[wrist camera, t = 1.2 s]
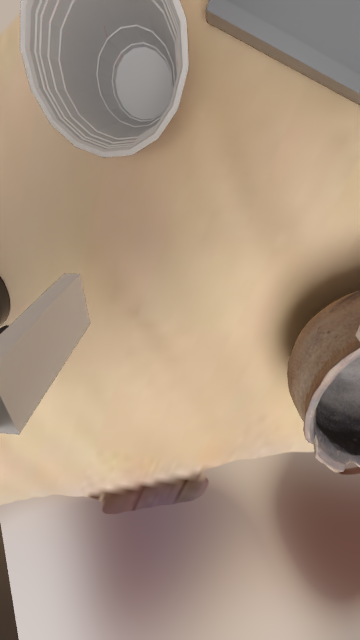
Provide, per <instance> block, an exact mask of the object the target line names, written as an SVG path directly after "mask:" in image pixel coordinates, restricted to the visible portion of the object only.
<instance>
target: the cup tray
mask: <svg viewBox="0 0 360 640" xmlns="http://www.w3.org/2000/svg"><path fill="white" fill-rule="evenodd" d="M206 13H207V22H208V23H210V24H211V25H213V26H215V27H217V28H219V29H221V30H222V31H224V32H226V33H228V34H230V35H232V36H233V37H235V38H237V39H239V40H241V41H243V42H245V43H246V44H248V45H250V46H252V47H254V48H256V49H257V50H259V51H261V52H263V53H265V54H267V55H269V56H270V57H272V58H274V59H276V60H278V61H280V62H281V63H283V64H285V65H287V66H289V67H291V68H292V69H294V70H296V71H298V72H300V73H302V74H304V75H305V76H307V77H309V78H311V79H313V80H315V81H316V82H318V83H320V84H322V85H324V86H326V87H328V88H329V89H331V90H333V91H335V92H337V93H339V94H340V95H342V96H344V97H346V98H348V99H350V100H351V101H353V102H355V103H357V104H359V105H360V0H209V3H208V6H207V9H206Z"/></svg>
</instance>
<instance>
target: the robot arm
mask: <svg viewBox="0 0 360 640" xmlns="http://www.w3.org/2000/svg"><path fill="white" fill-rule="evenodd" d="M9 308H10V303H9V296H8V293H7V290H6V287H5V285H4V283H3V281H2V280H1V278H0V325H2V324H3V323H4V321H5V320H6V318H7V316H8V314H9ZM89 325H90V319H89V314H88V310H87V305H86V300H85V295H84V290H83V286H82V281H81V276H80V274H63V275H62V276H61V277H60V278H59V279H58V280H57V281H56V282H55V283H54V284H53V285H52V286H51V287H50V288H49V289H48V290H46V291H45V292H44V293H43V294H42V295H41V296H40V297H39V298H38V299H37V300H36V301H35V302H34V303H33V304H32V305H31V306H30V307H29V308H28V309H26V310H25V311H24V312H23V313H22V314H21V315H20V316H19V317H18V318H17V319H16V320H15V321H14V322H13V323H12V324H11V325H10V326H7V325H6V326H4V327H2V328H0V433H6V434H18V435H19V434H20V432H21V431H22V429H23V428H24V426H25V425H26V423H27V422H28V420H29V418H30V417H31V415H32V414H33V412H34V411H35V409H36V407H37V406H38V404H39V403H40V401H41V400H42V398H43V397H44V395H45V393H46V392H47V390H48V389H49V387H50V386H51V384H52V383H53V381H54V379H55V378H56V376H57V375H58V373H59V372H60V370H61V368H62V367H63V365H64V364H65V362H66V361H67V359H68V358H69V356H70V354H71V353H72V351H73V350H74V348H75V347H76V345H77V344H78V342H79V340H80V339H81V337H82V336H83V334H84V333H85V331H86V329H87V328H88V326H89ZM356 337H357V338H358V340H359V341H360V325H359V328H358V331H357V333H356ZM0 640H19V639H18V633H17V627H16V621H15V614H14V607H13V601H12V595H11V588H10V582H9V576H8V570H7V563H6V557H5V550H4V544H3V538H2V531H1V525H0Z"/></svg>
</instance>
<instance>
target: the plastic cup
mask: <svg viewBox="0 0 360 640" xmlns="http://www.w3.org/2000/svg"><path fill="white" fill-rule="evenodd" d="M20 50H21V54H22V58H23V61H24V65H25V69H26V73H27V77H28V81H29V84H30V88H31V91H32V93H33V94H34V96H35V98H36V100H37V101H38V103H39V105H40V107H41V108H42V110H43V112H44V113H45V115H46V117H47V119H48V120H49V122H50V124H51V125H52V126H53V127H54V128H55V129H57V130H58V131H59V132H60V133H61V134H62V135H63V136H64V137H65V138H66V139H68V140H69V141H70V142H71V143H72V144H73V145H74V146H75V147H77V148H80V149H82V150H85V151H87V152H90V153H93V154H95V155H98V156H101V157H103V158H106V157H118V156H129V155H133V154H135V153H136V152H138V151H140V150H141V149H143V148H144V147H146V146H147V145H149V144H151V143H152V142H154V141H155V140H157V139H158V138H159V137H160V135H161V134H162V132H163V131H164V129H165V128H166V126H167V125H168V123H169V122H170V120H171V119H172V117H173V116H174V114H175V113H176V111H177V110H178V107H179V103H180V99H181V96H182V92H183V88H184V84H185V80H186V76H187V72H188V68H189V63H188V43H187V22H186V17H185V14H184V11H183V8H182V6H181V3H180V0H21V10H20Z"/></svg>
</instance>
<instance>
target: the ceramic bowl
mask: <svg viewBox="0 0 360 640" xmlns="http://www.w3.org/2000/svg"><path fill="white" fill-rule="evenodd" d="M359 325H360V290H358V291H356V292H353V293H350V294H348V295H346V296H344V297H342V298H340V299H338V300H336V301H334V302H332V303H331V304H329V305H327V306H326V307H325V308H324V309H322V310H321V311H320V312H318V313H317V314H316V315H315V316H314V317H313V318H312V319H311V320H310V321H309V322H308V323H307V324H306V325H305V327H304V328H303V329H302V331H301V332H300V334H299V336H298V338H297V340H296V342H295V345H294V347H293V349H292V352H291V355H290V359H289V362H288V372H287V375H288V386H289V392H290V395H291V397H292V400H293V402H294V404H295V406H296V408H297V410H298V413H299V415H300V416H301V418H302V420H303V421H304V435H305V438H306V440H307V441H308V442H309V443H312V444H314V449H315V457H316V459H318V460H319V461H320V462H322V463H323V464H325V465H326V466H327V467H328V468H329V469H331V470H332V471H334V472H336V473H337V472H343V471H344V469H345V467H346V465H347V464H348V463H349V462H353V463H356V464H357V465H358V466H359V467H360V341H359V340H358V338H357V337H356V333H357V331H358V328H359Z"/></svg>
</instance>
